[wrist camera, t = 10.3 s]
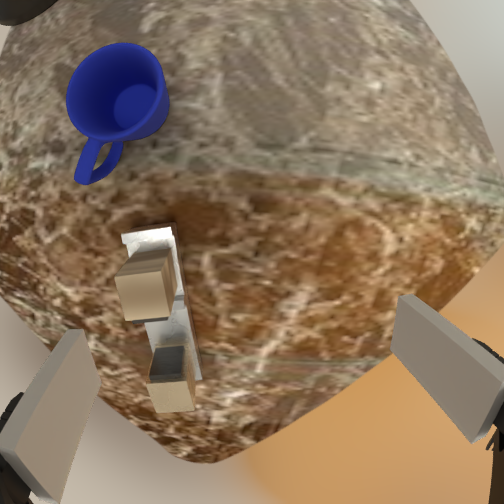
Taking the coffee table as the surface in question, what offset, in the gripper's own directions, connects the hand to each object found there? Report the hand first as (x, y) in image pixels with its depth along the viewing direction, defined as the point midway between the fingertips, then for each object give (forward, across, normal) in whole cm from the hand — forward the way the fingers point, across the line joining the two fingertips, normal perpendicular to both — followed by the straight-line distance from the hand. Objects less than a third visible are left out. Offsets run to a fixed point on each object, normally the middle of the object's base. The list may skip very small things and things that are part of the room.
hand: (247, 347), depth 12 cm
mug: (+24, -9, +12) cm, 28 cm away
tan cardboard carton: (+20, -7, -3) cm, 22 cm away
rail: (+23, -7, -8) cm, 26 cm away
